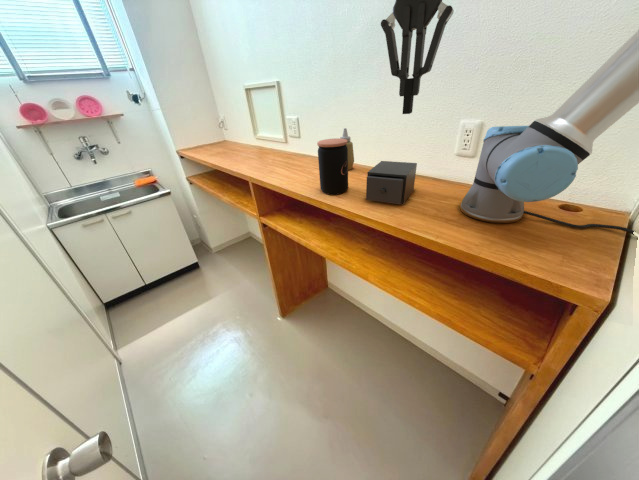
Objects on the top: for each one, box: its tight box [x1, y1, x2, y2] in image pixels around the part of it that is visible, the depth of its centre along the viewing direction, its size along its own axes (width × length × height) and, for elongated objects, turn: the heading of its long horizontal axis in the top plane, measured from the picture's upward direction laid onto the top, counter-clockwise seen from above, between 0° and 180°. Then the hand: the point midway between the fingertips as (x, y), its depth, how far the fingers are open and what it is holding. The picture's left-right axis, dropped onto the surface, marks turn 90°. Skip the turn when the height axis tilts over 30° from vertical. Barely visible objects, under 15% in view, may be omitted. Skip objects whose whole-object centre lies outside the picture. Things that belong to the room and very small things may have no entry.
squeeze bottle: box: [340, 127, 355, 171], centre depth 116 cm, size 8×8×18 cm
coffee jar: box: [316, 137, 349, 196], centre depth 92 cm, size 11×11×18 cm
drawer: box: [365, 175, 404, 205], centre depth 85 cm, size 15×11×8 cm
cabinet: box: [366, 160, 418, 205], centre depth 87 cm, size 15×13×10 cm
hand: (407, 113), depth 55 cm, fingers closed
